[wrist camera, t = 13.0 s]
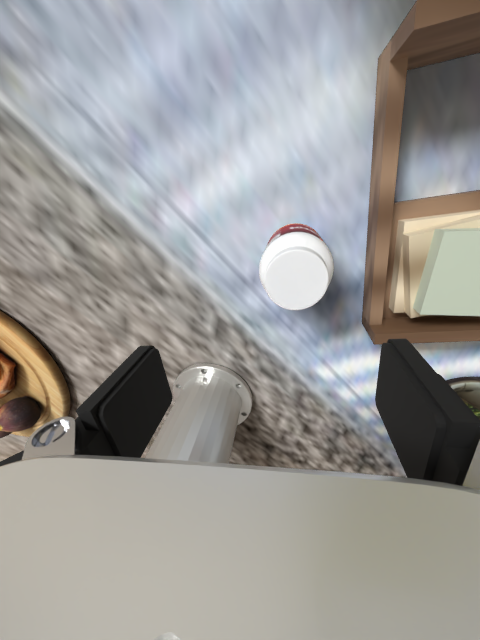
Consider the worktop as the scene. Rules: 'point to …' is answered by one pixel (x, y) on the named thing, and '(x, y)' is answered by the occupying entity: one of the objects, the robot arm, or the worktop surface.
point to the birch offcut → (403, 227)
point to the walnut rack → (399, 56)
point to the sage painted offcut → (451, 274)
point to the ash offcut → (423, 257)
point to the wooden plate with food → (28, 382)
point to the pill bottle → (296, 267)
